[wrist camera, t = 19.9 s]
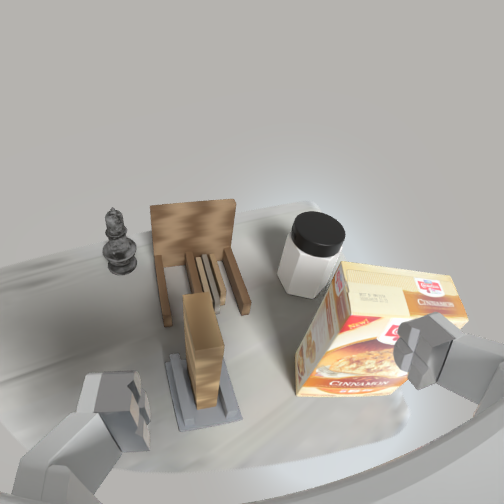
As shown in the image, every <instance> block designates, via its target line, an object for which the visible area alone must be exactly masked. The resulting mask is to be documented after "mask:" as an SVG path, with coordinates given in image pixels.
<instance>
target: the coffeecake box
mask: <svg viewBox="0 0 504 504" xmlns="http://www.w3.org/2000/svg"><path fill="white" fill-rule="evenodd" d="M433 312H439V313H441V314H442V315H443V316H444V317H445V318H447V319H448V320H449V321H450V322H451V323H453V324H454V325H455V326H456V327H457V328H459V329H461V328H462V327H463V326H464V325H465V324H466V323H467V322H468V317H467V314H466V312H465V309H464V306H463V304H462V302H461V300H460V298H459V296H458V293H457V290H456V288H455V285H454V283H453V281H452V279H451V277H450V276H449V275H441V274H434V273H426V272H419V271H412V270H405V269H397V268H389V267H382V266H374V265H368V264H359V263H353V262H346V261H341V262H340V264H339V267H338V269H337V271H336V273H335V275H334V277H333V279H332V282H331V284H330V286H329V288H328V290H327V292H326V294H325V296H324V298H323V300H322V302H321V304H320V306H319V308H318V310H317V312H316V314H315V316H314V318H313V320H312V322H311V324H310V326H309V328H308V330H307V332H306V334H305V336H304V338H303V340H302V342H301V344H300V346H299V347H298V349H297V351H296V353H295V377H296V396H305V397H358V396H381V395H390V394H391V393H393V392H394V391H395V390H396V389H397V388H398V387H400V386H401V385H402V384H403V383H404V382H406V381H407V380H408V378H407V372H405V371H402V370H400V369H399V367H398V366H397V365H396V363H395V360H394V355H393V350H394V345H395V343H396V341H397V340H398V339H399V336H398V334H397V332H398V328H399V326H400V324H401V323H402V322H405V321H409V320H412V319H415V318H418V317H422V316H424V315H427V314H430V313H433Z"/></svg>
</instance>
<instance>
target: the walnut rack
mask: <svg viewBox="0 0 504 504" xmlns="http://www.w3.org/2000/svg"><path fill="white" fill-rule="evenodd" d="M235 209H236V202H235V200H234V199H223V200H209V201H197V202H185V203H173V204H162V205H152V206H150V213H151V225H152V238H153V249H154V259H155V267H156V275H157V282H158V290H159V296H160V303H161V309H162V316H163V322H164V327H170V326H172V318H171V311H170V305H169V300H168V294H167V288H166V282H165V275H164V269H163V267H172V266H180V265H186V270H187V274H188V279H189V283H190V287H191V292H192V294H194V293H202V292H203V291H202V287H201V284H200V280H199V276H198V272H197V268H196V257H201V260H202V255H203V254H207V258H208V261H209V256H210V254H215V257H216V260H217V261H222V260H223V263H224V266H225V269H226V272H227V275H228V278H229V281H230V284H231V287H232V290H233V293H234V296H235V299H236V301H237V304H238V307H239V310H240V313H241V316H242V315H248V314H249V311H250V307H251V303H252V302H251V300H250V297H249V295H248V292H247V289H246V287H245V284H244V281H243V279H242V276H241V273H240V271H239V268H238V265H237V263H236V260H235V257H234V255H233V252H232V249H231V241H232V233H233V225H234V217H235Z"/></svg>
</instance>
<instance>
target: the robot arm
mask: <svg viewBox="0 0 504 504" xmlns="http://www.w3.org/2000/svg"><path fill="white" fill-rule="evenodd" d="M397 334H398V336H399V339H398V340H397V341H396V343H395V345H394V350H393V355H394V360H395V363H396V365H397V366H398V367H399V369H400V370H402V371H405V372H407V378H408V379H409V381H410V382H411V383H412V384H413V385H414V387H415V388H416V389H417V390H420V389H422V388H425V387H427V386H429V385H432V384H435V383H437V384H438V385H440V386H442V387H444V388H446V389H448V390H450V391H452V392H454V393H456V394H458V395H460V396H462V397H464V398H466V399H468V400H470V401H472V402H474V403H476V404H478V407H477V409H476V411H475V412H474V415H473V418H471V419H470V420H468V421H467V422H465V423H463V424H462V425H460V426H458V427H457V428H455V429H453V430H451V431H450V432H448V433H446V434H444V435H442V436H440V437H439V438H437V439H435V440H433V441H431V442H429V443H427V444H425V445H423V446H421V447H419V448H417V449H415V450H413V451H411V452H409V453H407V454H404V455H402V456H400V457H398V458H395V459H393V460H391V461H388V462H386V463H384V464H381V465H379V466H376V467H374V468H371V469H369V470H366V471H363V472H361V473H358V474H355V475H353V476H349V477H346V478H344V479H341V480H338V481H334V482H331V483H328V484H325V485H321V486H319V487H315V488H311V489H307V490H304V491H300V492H296V493H292V494H288V495H284V496H280V497H275V498H270V499H265V500H260V501H255V502H249V503H243V504H504V344H503V343H499V342H496V341H492V340H489V339H486V338H482V337H478V336H475V335H472V334H465V333H463V332H462V331H461V330H460V329H459V328H457V327H456V326H455V325H454V324H453V323H451V322H450V321H449V320H448V319H447V318H445V317H444V316H443V315H442V314H441V313H439V312H433V313H430V314H427V315H424V316H422V317H418V318H415V319H412V320H409V321H405V322H402V323H401V324H400V326H399V328H398V332H397ZM141 381H142V380H141V378H140V375H139V373H138V372H137V371H115V372H89V373H88V374H87V375H86V376H85V380H84V383H83V387H82V390H81V394H80V397H79V401H78V405H77V409H76V413H70V414H69V415H68V416H67V417H66V418H65V419H64V420H62V421H61V422H60V423H59V424H58V425H57V426H56V427H55V428H54V429H53V430H51V431H50V432H49V433H48V434H47V435H46V436H45V437H44V438H43V439H42V440H41V441H39V442H38V443H37V444H36V445H35V446H34V447H33V448H32V449H31V450H30V451H28V452H27V453H26V454H25V455H24V456H23V457H22V458H21V460H20V463H19V466H18V470H17V474H16V478H15V482H14V486H13V490H12V494H7V493H4V492H0V504H102V503H101V502H100V501H99V500H98V499H97V498H96V497H95V496H94V494H95V492H96V491H97V489H98V488H99V486H100V485H101V484H102V482H103V481H104V479H105V478H106V476H107V475H108V473H109V472H110V471H111V469H112V468H113V466H114V465H115V464H116V462H117V461H118V459H119V458H120V456H121V455H122V453H121V452H139V451H150V431H149V429H148V427H147V425H148V423H149V422H150V418H151V413H150V405H149V400H148V397H147V394H146V391H144V390H143V389H142V388H141Z"/></svg>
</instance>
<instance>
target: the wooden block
mask: <svg viewBox="0 0 504 504" xmlns="http://www.w3.org/2000/svg"><path fill="white" fill-rule="evenodd" d="M183 313H184V332H185V348H186V362H187V371H188V375H189V380H190V384H191V388H192V392H193V396H194V400H195V404H196V408H197V410H199V409H205V408H210V407H215V406H216V405H217V397H218V390H219V382H220V375H221V368H222V360H223V353H224V342H223V339H222V336H221V332H220V329H219V326H218V322H217V319H216V315H215V312H214V308H213V305H212V301H211V298H210V294H209V292H202V293H194V294H187V295H183Z"/></svg>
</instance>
